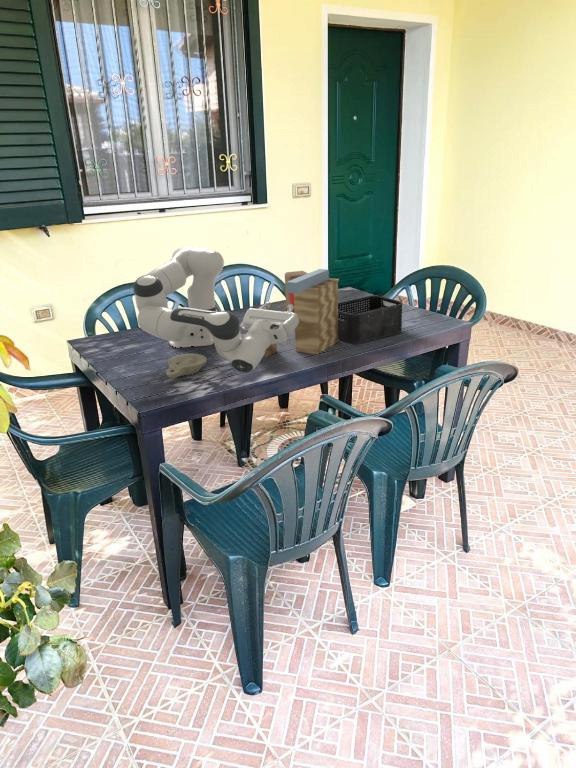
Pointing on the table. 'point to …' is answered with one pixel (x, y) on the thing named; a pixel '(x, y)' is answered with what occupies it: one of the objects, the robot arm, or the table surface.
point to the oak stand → (317, 317)
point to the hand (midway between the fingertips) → (279, 304)
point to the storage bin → (368, 319)
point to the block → (289, 277)
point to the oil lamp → (184, 364)
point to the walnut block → (270, 350)
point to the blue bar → (307, 281)
